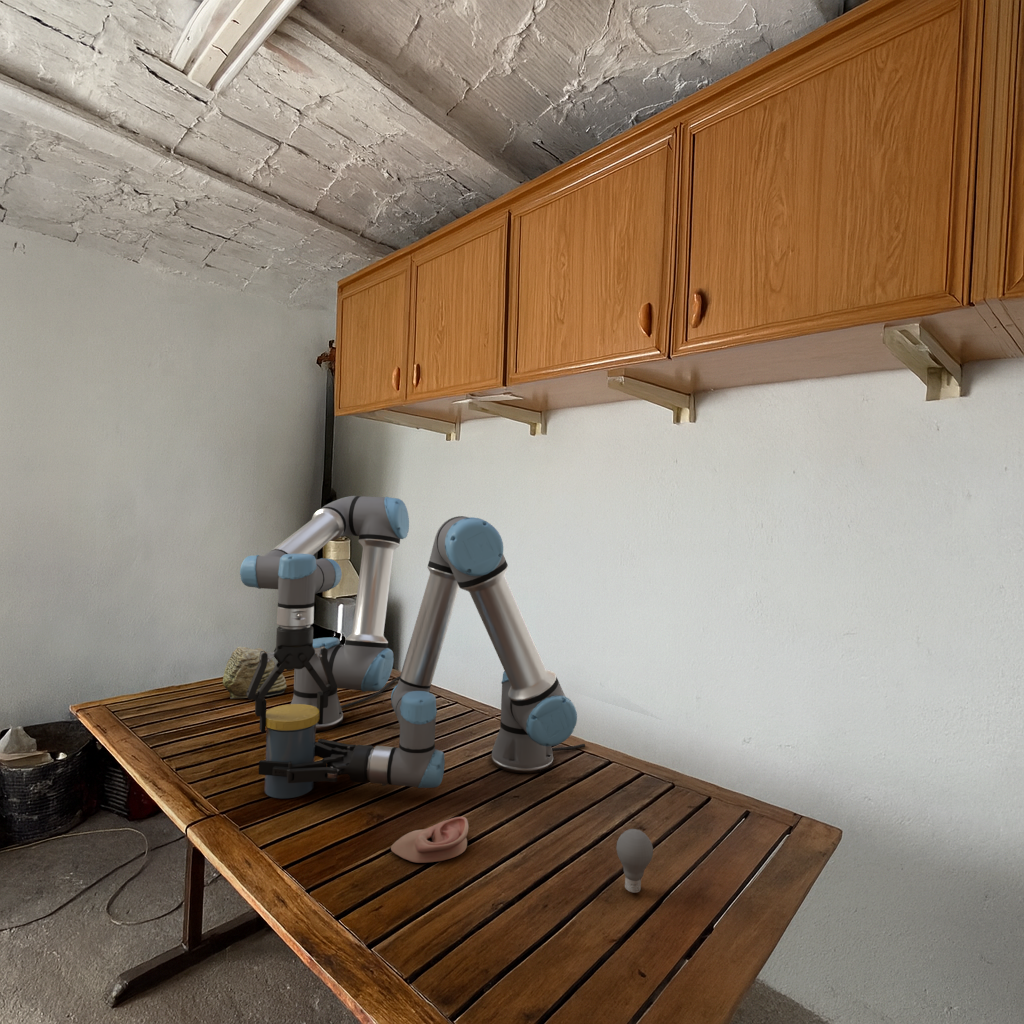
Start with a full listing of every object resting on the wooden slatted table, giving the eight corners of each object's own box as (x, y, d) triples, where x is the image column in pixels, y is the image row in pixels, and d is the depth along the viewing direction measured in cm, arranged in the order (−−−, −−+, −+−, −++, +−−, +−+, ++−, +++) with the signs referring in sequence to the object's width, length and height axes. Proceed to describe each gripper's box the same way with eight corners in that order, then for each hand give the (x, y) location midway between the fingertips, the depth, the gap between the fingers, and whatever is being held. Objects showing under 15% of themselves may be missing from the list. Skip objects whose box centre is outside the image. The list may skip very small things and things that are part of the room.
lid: (279, 710, 143) (279, 702, 143) (327, 714, 142) (327, 706, 142) (253, 728, 132) (253, 719, 132) (305, 732, 131) (305, 723, 131)
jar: (318, 792, 136) (321, 720, 135) (268, 802, 130) (271, 727, 130) (307, 774, 144) (310, 706, 144) (260, 782, 139) (263, 711, 139)
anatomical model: (384, 835, 112) (408, 805, 123) (383, 857, 112) (407, 825, 123) (456, 847, 109) (474, 815, 120) (455, 869, 109) (473, 836, 121)
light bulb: (610, 879, 108) (613, 822, 108) (644, 879, 109) (647, 822, 109) (619, 902, 102) (622, 840, 102) (655, 901, 103) (658, 840, 103)
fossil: (218, 695, 195) (220, 647, 195) (278, 685, 208) (279, 640, 207) (228, 703, 189) (230, 653, 188) (289, 692, 201) (290, 645, 201)
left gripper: (238, 632, 127) (234, 740, 128) (354, 625, 139) (350, 724, 140) (234, 625, 134) (230, 728, 134) (345, 619, 146) (341, 713, 146)
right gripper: (354, 807, 125) (245, 798, 126) (385, 760, 147) (292, 753, 149) (355, 769, 125) (246, 761, 126) (386, 728, 147) (293, 721, 149)
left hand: (291, 726), depth 137 cm, fingers closed on lid, 11 cm apart
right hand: (271, 756), depth 137 cm, fingers closed on jar, 10 cm apart
